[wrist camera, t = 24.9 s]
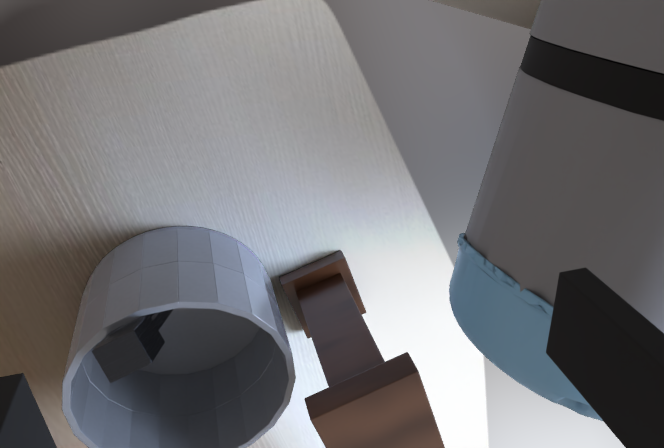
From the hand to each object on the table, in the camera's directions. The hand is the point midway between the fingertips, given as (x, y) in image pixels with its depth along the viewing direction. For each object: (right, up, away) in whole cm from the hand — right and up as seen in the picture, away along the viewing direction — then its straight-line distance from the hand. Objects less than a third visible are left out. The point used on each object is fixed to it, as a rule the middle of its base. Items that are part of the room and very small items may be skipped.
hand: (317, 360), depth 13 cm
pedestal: (-1, -3, +44) cm, 44 cm away
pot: (-15, -5, +41) cm, 43 cm away
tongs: (-14, -6, +31) cm, 35 cm away
